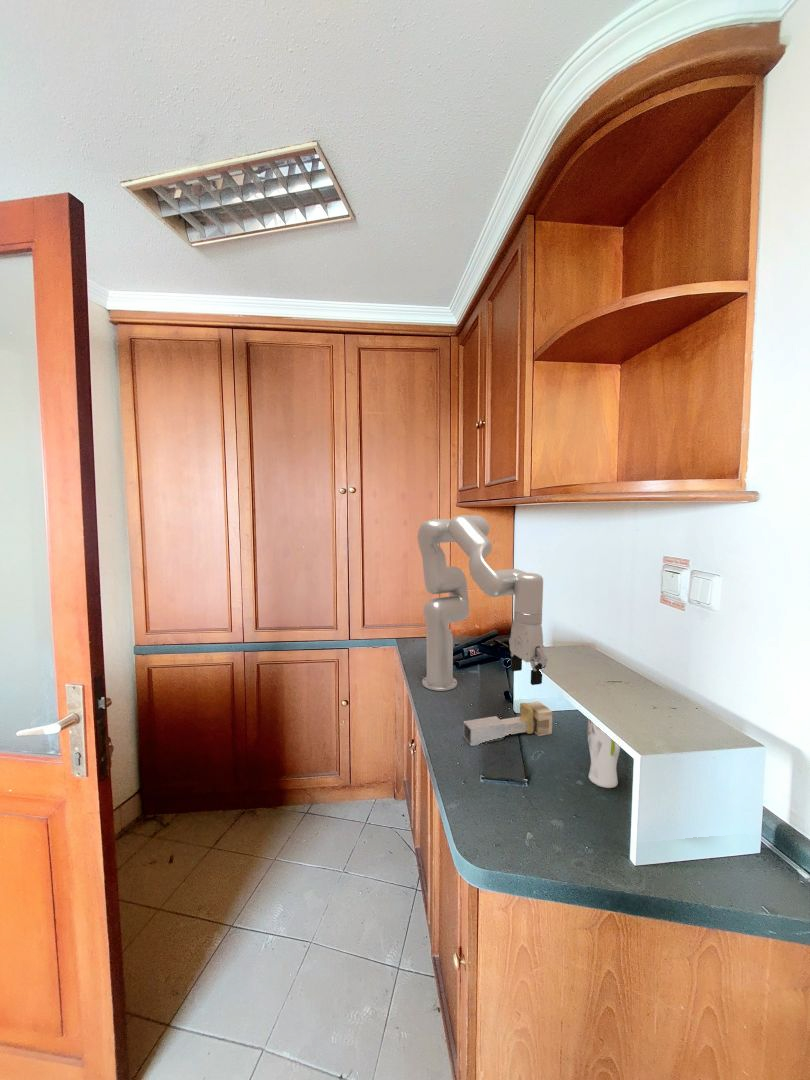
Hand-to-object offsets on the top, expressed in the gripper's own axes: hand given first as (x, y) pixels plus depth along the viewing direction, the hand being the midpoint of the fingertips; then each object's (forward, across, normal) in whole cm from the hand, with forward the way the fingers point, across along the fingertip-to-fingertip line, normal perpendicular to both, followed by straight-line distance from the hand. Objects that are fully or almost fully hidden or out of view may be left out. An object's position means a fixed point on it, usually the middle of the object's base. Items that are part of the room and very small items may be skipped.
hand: (525, 677), depth 117 cm
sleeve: (+16, +1, -13) cm, 21 cm away
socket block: (+16, +1, +4) cm, 16 cm away
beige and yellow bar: (+16, +1, -3) cm, 16 cm away
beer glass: (+15, +25, +5) cm, 29 cm away
